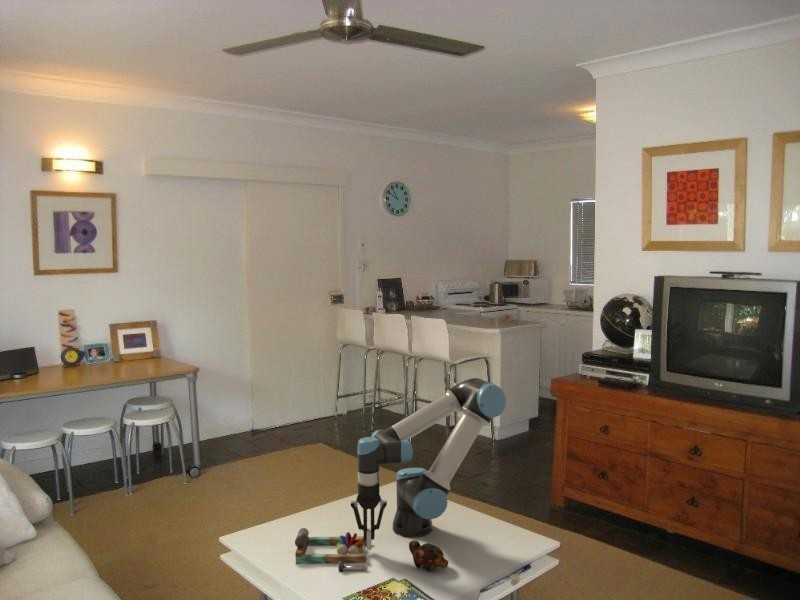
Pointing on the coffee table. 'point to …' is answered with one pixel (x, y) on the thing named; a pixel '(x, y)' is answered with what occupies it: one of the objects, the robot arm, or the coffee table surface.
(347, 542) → the rainbow sensory ball
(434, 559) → the decorative turtle
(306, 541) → the bay
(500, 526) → the coffee table surface
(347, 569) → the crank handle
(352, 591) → the coffee table surface
